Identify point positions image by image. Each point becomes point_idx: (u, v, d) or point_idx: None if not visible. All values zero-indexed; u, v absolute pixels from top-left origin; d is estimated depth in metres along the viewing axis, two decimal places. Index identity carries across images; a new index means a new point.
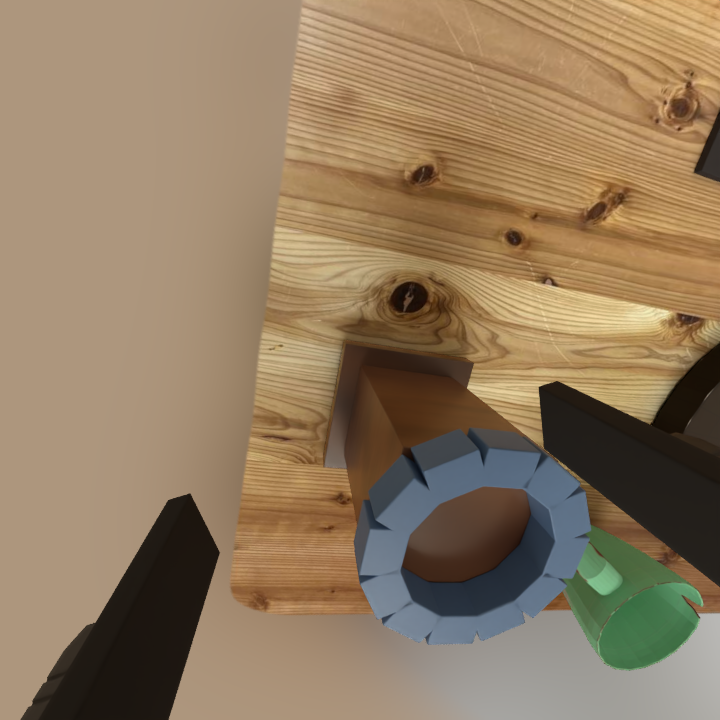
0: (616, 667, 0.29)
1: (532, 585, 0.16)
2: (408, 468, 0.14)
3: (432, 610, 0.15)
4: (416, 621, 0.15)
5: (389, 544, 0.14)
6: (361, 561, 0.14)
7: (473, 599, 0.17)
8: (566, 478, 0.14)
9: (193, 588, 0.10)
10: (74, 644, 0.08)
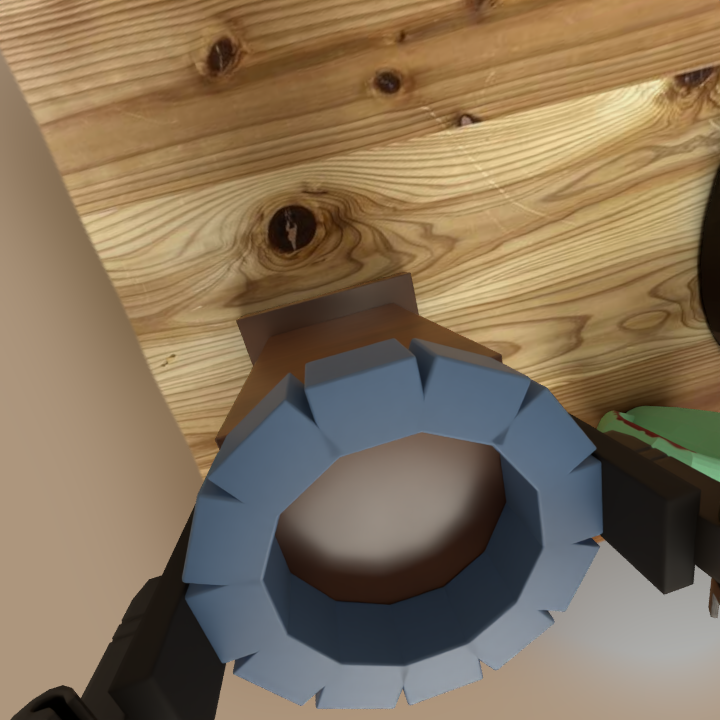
0: None
1: (535, 568, 0.09)
2: (206, 476, 0.08)
3: (385, 662, 0.09)
4: (367, 685, 0.09)
5: (236, 606, 0.08)
6: (213, 644, 0.08)
7: (459, 613, 0.10)
8: (495, 381, 0.07)
9: None
10: (141, 594, 0.09)
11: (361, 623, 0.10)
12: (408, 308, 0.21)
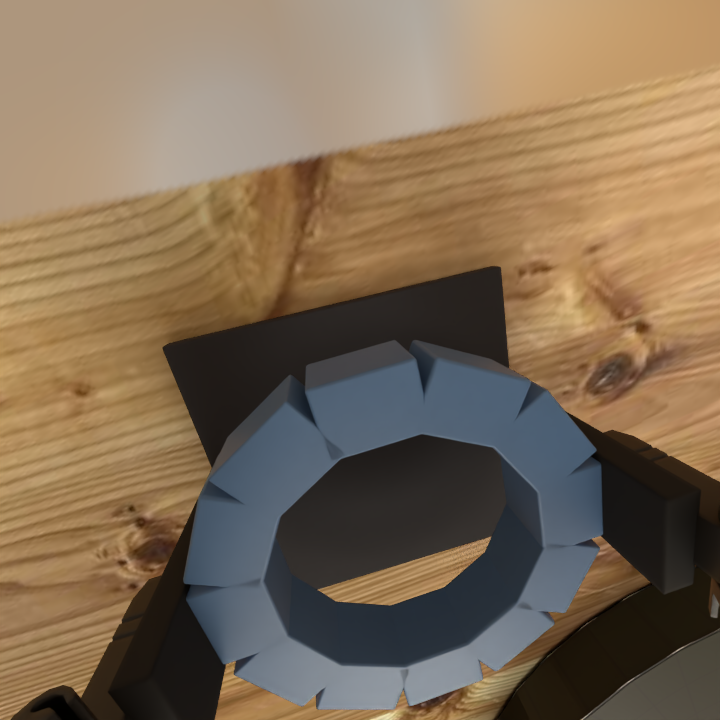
0: None
1: (535, 570, 0.09)
2: (207, 478, 0.08)
3: (385, 663, 0.09)
4: (367, 686, 0.09)
5: (237, 608, 0.08)
6: (214, 645, 0.08)
7: (459, 614, 0.10)
8: (495, 383, 0.07)
9: None
10: (141, 594, 0.09)
11: (361, 624, 0.10)
12: None
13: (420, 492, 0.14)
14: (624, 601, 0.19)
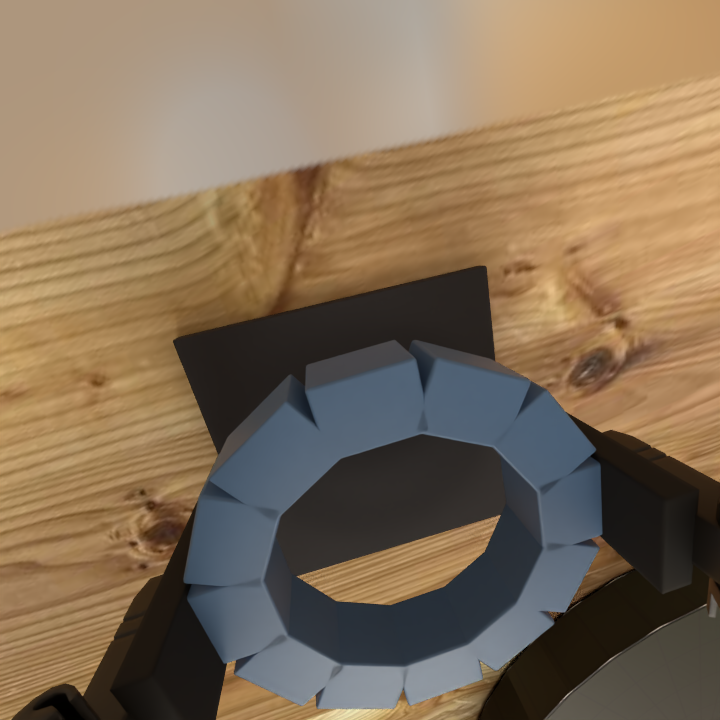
0: None
1: (535, 570, 0.09)
2: (207, 478, 0.08)
3: (385, 662, 0.09)
4: (367, 685, 0.09)
5: (237, 607, 0.08)
6: (214, 644, 0.08)
7: (459, 614, 0.10)
8: (495, 383, 0.07)
9: None
10: (142, 593, 0.09)
11: (361, 624, 0.10)
12: None
13: (413, 478, 0.15)
14: (609, 585, 0.20)
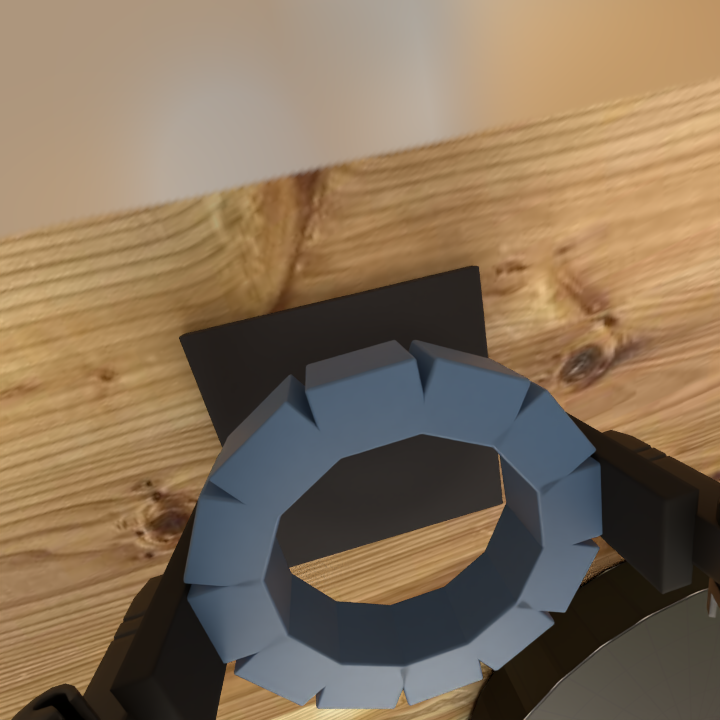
0: None
1: (535, 570, 0.09)
2: (207, 478, 0.08)
3: (385, 662, 0.09)
4: (367, 685, 0.09)
5: (237, 607, 0.08)
6: (214, 644, 0.08)
7: (459, 613, 0.10)
8: (495, 383, 0.07)
9: None
10: (142, 593, 0.09)
11: (361, 623, 0.10)
12: None
13: (409, 470, 0.16)
14: (600, 576, 0.20)
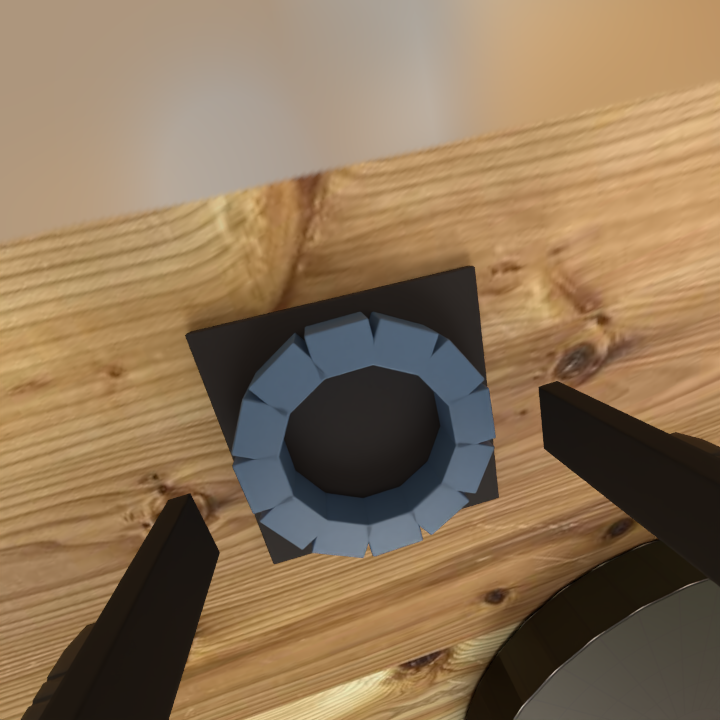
0: None
1: (452, 460, 0.14)
2: (245, 393, 0.13)
3: (356, 522, 0.14)
4: (345, 537, 0.15)
5: (263, 474, 0.13)
6: (248, 500, 0.13)
7: (407, 497, 0.15)
8: (416, 334, 0.12)
9: (193, 588, 0.10)
10: (74, 644, 0.08)
11: (342, 504, 0.15)
12: None
13: (407, 465, 0.16)
14: (595, 570, 0.21)
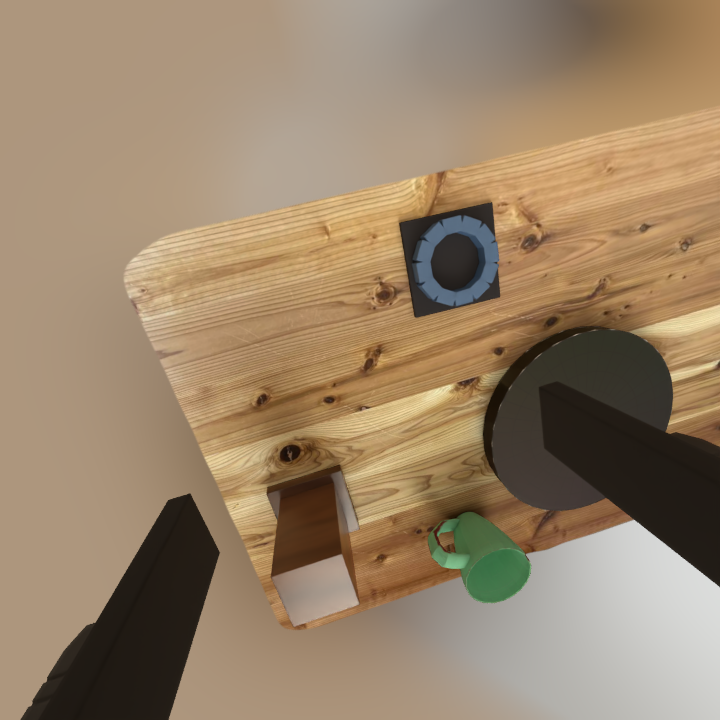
0: (493, 601, 0.48)
1: (484, 268, 0.42)
2: (420, 240, 0.41)
3: (451, 291, 0.42)
4: (447, 296, 0.42)
5: (424, 267, 0.41)
6: (418, 277, 0.41)
7: (467, 286, 0.43)
8: (474, 221, 0.40)
9: (193, 588, 0.10)
10: (73, 644, 0.08)
11: None
12: (340, 483, 0.49)
13: (466, 278, 0.44)
14: (541, 341, 0.49)
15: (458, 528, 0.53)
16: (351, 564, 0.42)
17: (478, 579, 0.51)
